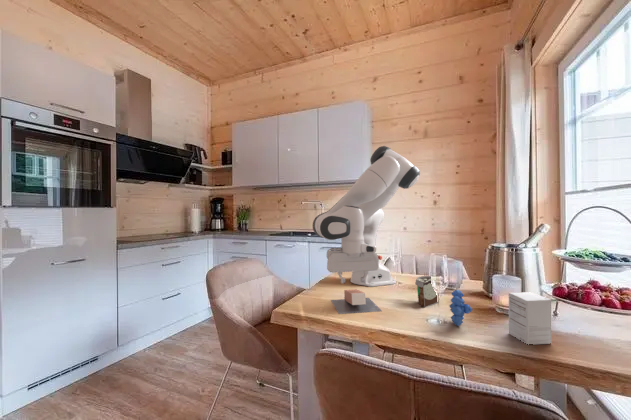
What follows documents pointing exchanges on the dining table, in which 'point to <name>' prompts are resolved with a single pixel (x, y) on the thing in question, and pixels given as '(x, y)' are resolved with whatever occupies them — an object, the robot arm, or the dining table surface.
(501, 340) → the dining table surface
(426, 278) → the food container
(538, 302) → the white drawer cabinet
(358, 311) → the slate board
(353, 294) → the block
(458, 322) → the grapes
